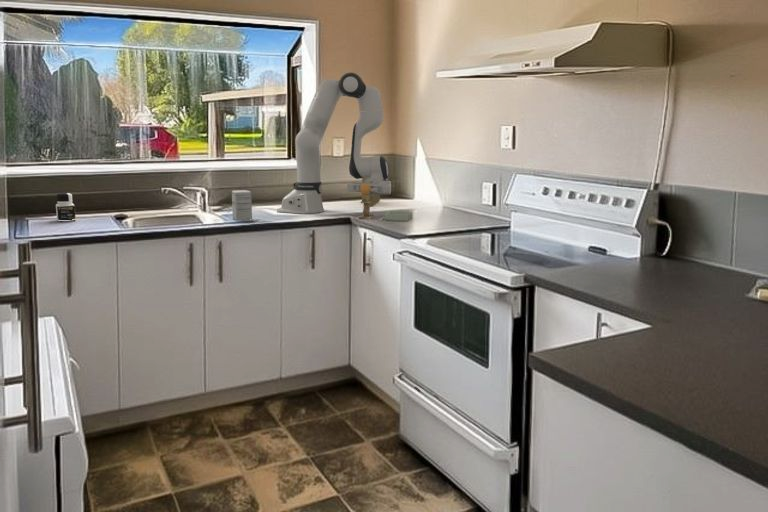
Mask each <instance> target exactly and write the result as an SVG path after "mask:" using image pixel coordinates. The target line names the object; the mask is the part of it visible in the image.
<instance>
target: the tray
mask: <svg viewBox="0 0 768 512" xmlns="http://www.w3.org/2000/svg"><path fill="white" fill-rule="evenodd" d="M384 216H385V218H384V221H385V220H387V222H388V221H392V222H410V220H412V219H413V211H405V210H404V211H401V210H389V211H387V212H385V213H384Z"/></svg>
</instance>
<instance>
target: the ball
mask: <svg viewBox="0 0 768 512" xmlns="http://www.w3.org/2000/svg"><path fill="white" fill-rule="evenodd" d="M370 189H371V187H370V186H369V185H368V184H363V185H362V186H361V187H360V192H359V193H360V194H361V195H362V194H363V195H368V194H370Z"/></svg>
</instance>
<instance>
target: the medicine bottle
mask: <svg viewBox="0 0 768 512" xmlns="http://www.w3.org/2000/svg"><path fill="white" fill-rule="evenodd" d="M56 201H57V203H56V204H55V212H56V213H55V214H56V220H57V219H58V220H72V219H76V220H77V217H76V206H75V204H74V203H73V194H72V193H70V192H60V193H57V194H56Z"/></svg>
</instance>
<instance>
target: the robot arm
mask: <svg viewBox="0 0 768 512" xmlns="http://www.w3.org/2000/svg"><path fill="white" fill-rule="evenodd" d="M342 97H347V98H355V99H356V100H357V102H358V109H359V110H358V111H359V112H358V113H359V117H358V120H357V122H356V123H354V124H353V129H352V137H351V147H350V149H351V150H350V157H349V159H350V160H349V163H348V164H349V165H348V166H349V167H348V171H349V174H350V176H352V177H353V178H354V179H355V180H360V179H362V178H367V177H371V178H368V179H367V180H365V182H364V183H362V182H349V183H347V184H346V191H347V192H351V193H353V192H354V193H361V192H360V187H361V186H362V185H363V184H368V185H369V186H370V187H371V189H370V194H368V196H372V197H373V196H379V195H380V196H389V195H391V194H392V181H391V180H388V178H389V175H390V165H389V162H388V161H387V159H386V158H385V157H384V156H382V155H376V156H366V157H365V156H364V157H363V156H361V152H362V151H361V150H362V140H363V138H364V137H365V136H366V135H367V134H370V133H371V132H373V131H375V130H377V129H378V128H380V126H381V125H382V124H383V121H384V110H383V109H384V107H383V106H384V105H383V100H382V97H381V92H380V90H379V88H377V87H375V86H372V85H371V86H367V85H366V84H365V83H364V80H363V79H362V77H361V76H360V75H359V74H358V73H355V72H346V73H345V74H343V75H342V76H341V77H340V79H338V80H337V79H336V80H335V79H333V78H325V79H323V80H322V81H321V83H320V84H319V86H318V88H317V89H316V91H315V93H314V95H313V98H312V100H311V102H310V105H309V107H308V110H307V112H306V115H305V118H304V120H303V123H302V126H301V128H300V130H299V132H298V133H297V134H296V136H295V144H294V145H295V156H296V160H295V161H296V179H297V180H296V182H294V183H292V187H293V190H292V191H290V192H288V193H287V194H286V195H285V196H284V197H283V198H282V200H281V207H278V208H277V209H276V212H277V213H287V214H302V215H303V214H304V215H306V214H318V213H322V212H325V208H324V205H323V199H322V192H323V191H322V190H323V189H322V188H323V187H322V181H321V157H320V156H321V155H320V154H321V153H320V150H321V149H320V145H321V143H322V140H323V138H324V136H325V133H326V131H327V128H328V127H329V126H328V125H329V123H330V120H331V118H332V115H333V113H334V112H335V108H336V107H337V105H338V102H339V100H340V98H342Z"/></svg>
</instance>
